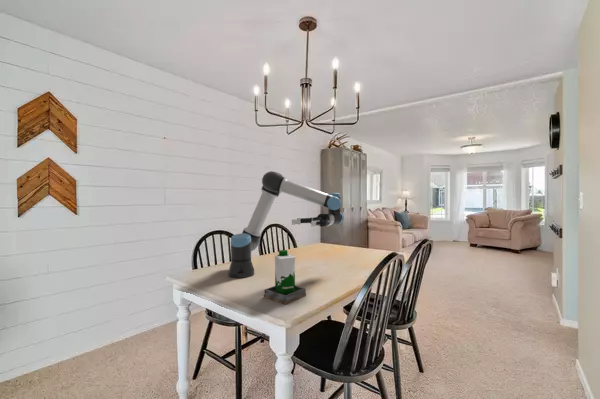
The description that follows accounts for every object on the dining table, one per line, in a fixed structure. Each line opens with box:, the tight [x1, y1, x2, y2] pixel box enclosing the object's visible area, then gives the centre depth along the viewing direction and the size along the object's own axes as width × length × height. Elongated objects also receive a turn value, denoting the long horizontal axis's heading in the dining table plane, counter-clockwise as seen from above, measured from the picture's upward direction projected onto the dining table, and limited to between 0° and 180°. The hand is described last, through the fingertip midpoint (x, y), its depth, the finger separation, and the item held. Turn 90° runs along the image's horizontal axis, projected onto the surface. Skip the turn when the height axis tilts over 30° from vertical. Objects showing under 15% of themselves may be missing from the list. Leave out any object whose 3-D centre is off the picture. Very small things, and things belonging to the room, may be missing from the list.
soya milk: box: [274, 249, 296, 295], centre depth 137 cm, size 9×9×20 cm
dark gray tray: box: [263, 285, 307, 305], centre depth 138 cm, size 14×14×4 cm
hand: (301, 223), depth 157 cm, fingers open, 13 cm apart
